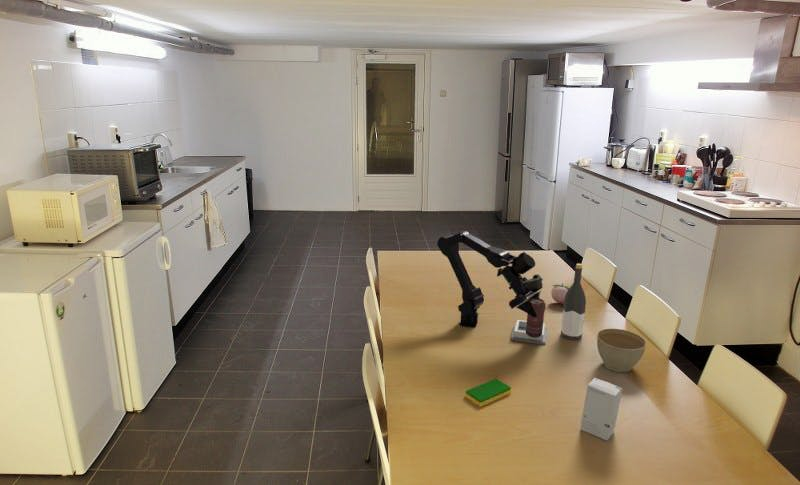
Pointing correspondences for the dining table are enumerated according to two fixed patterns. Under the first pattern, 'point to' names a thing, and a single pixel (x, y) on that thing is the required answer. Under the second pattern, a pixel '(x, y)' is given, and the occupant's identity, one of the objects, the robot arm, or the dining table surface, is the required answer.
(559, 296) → the decorative fruit
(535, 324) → the can
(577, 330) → the wine bottle
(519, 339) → the tray
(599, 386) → the skincare box
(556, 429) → the dining table surface
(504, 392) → the dish sponge
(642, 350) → the planter bowl
